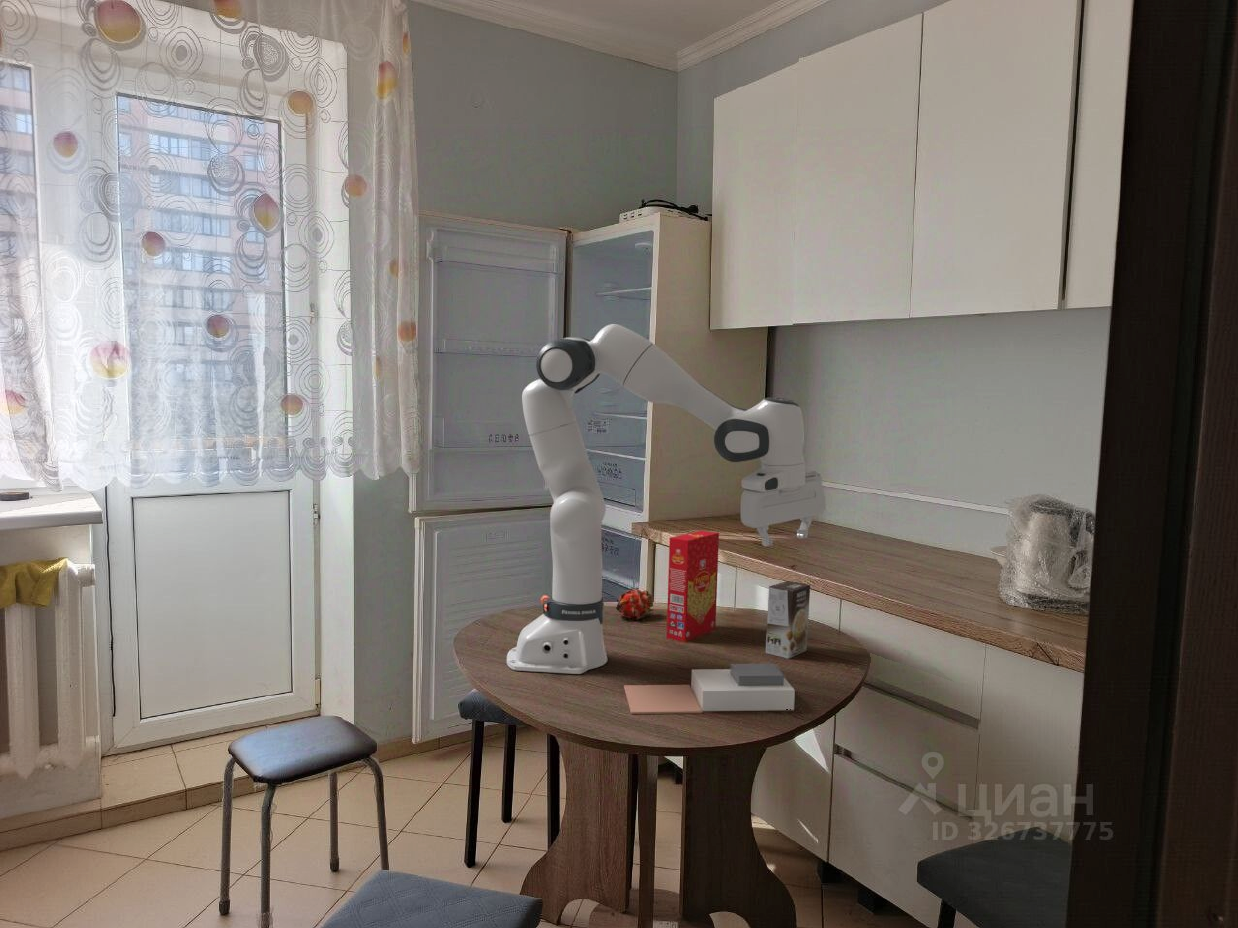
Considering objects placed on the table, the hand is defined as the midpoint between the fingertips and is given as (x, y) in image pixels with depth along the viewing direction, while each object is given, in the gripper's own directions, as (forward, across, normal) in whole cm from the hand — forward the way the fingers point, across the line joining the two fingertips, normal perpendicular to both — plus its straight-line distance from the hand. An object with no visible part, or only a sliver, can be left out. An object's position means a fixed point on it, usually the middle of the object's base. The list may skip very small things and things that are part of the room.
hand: (785, 541), depth 174 cm
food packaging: (+31, 0, -36) cm, 48 cm away
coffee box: (+32, -12, -15) cm, 37 cm away
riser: (+29, +16, +4) cm, 33 cm away
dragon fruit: (+30, +6, -55) cm, 63 cm away
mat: (+27, +31, -2) cm, 41 cm away
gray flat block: (+25, +13, +6) cm, 29 cm away
